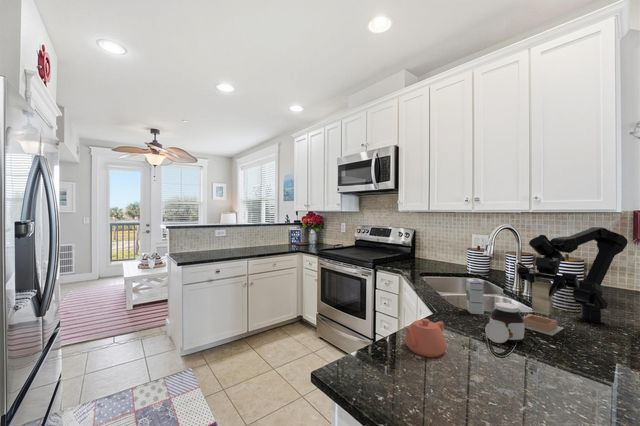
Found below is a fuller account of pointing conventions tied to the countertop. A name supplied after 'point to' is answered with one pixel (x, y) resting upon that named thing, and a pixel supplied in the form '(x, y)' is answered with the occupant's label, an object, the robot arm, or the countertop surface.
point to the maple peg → (542, 298)
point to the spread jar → (505, 324)
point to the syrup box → (474, 296)
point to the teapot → (426, 338)
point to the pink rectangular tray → (541, 324)
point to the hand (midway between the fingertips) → (540, 294)
